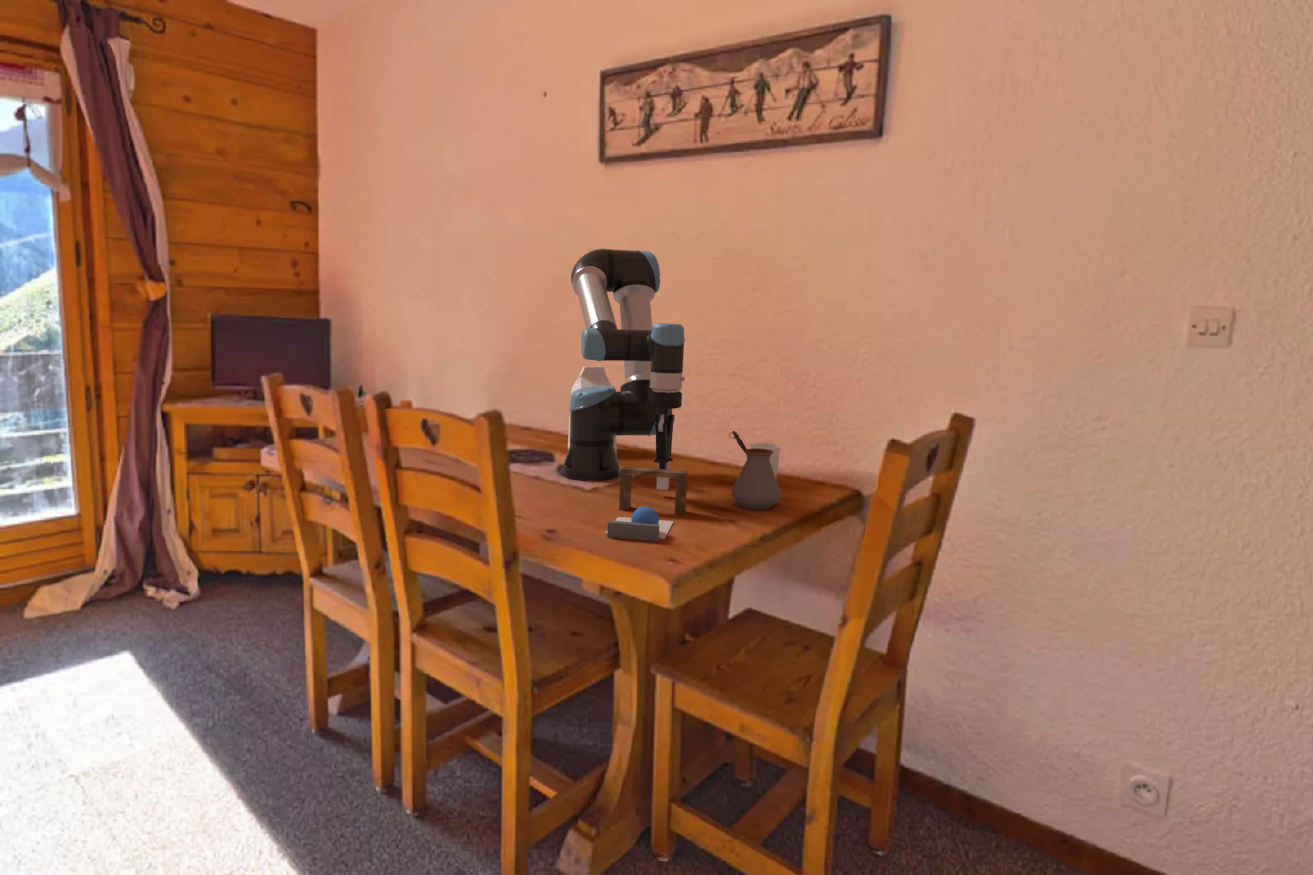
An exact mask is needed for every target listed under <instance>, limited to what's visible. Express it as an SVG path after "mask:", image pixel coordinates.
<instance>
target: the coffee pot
mask: <svg viewBox="0 0 1313 875" xmlns="http://www.w3.org/2000/svg"><path fill="white" fill-rule="evenodd" d="M731 434H732V435H733V437H731V436H730V435H731ZM728 437H729V438H730V439H735V440H736V443H737V444H738V446H739V447H740V448H741V449H742V451H743V452H744V453H745V455H746V461H745V463H744V464H743V467H742V468H741V471H740V473H739V475H738V477H737V478H736V481H735V483H734V485H733V487H732V489H731V496H732V498H733V499H734V501H736V502H737V503H738V505H739V506H740V507H742V508H746V509H751V510H768V509H771V508H772V507H773V506H774V505H777V503H778V502H779V501H780V499H781V497H782V493H781V489H780V487H779V484H778V481H777V477H776V478H775V475H774V472H773V470H772V467H771V464H770V461H769V459H770V456H771V454H773V451H772V450H767V449H757V448H753V449H750V448H747V447H746V445H745V442H743V440H742V438H740V435H739V434H738V432H736V431H735V430H732V432H729V434H728ZM770 507H771V508H770ZM767 508H768V509H767Z"/></svg>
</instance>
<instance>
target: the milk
mask: <svg viewBox="0 0 1313 875" xmlns="http://www.w3.org/2000/svg"><path fill="white" fill-rule="evenodd" d="M593 386H612V384H611V382H610V379H609V378H608V376H607V373H606V371H605V368H604V366H582V369H581V371H580V373H579V376H578V377H577V379H576V380H575V382H574V384H573V385H572V388H571V391H570V396H571V395H572V393H573V392H574V391H576V390H578V389H581V388H586V387H593ZM569 446H570V418H569V420H568V439H567V450H568V449H569ZM614 449H615V452H616V455H618V450H617V436H614Z"/></svg>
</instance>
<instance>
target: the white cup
mask: <svg viewBox="0 0 1313 875" xmlns="http://www.w3.org/2000/svg"><path fill="white" fill-rule="evenodd" d="M753 448H757V449H767V450H772V451H773V454H771V456H770V459H769V461H770V464H771V467H772V470H773V472H774V475H775V478H776V479H777V474H778V470H779V463H780V453H781V445H779V444H776V443H770V442H752V443H750V444H749V449H753Z"/></svg>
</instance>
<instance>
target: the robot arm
mask: <svg viewBox="0 0 1313 875" xmlns="http://www.w3.org/2000/svg"><path fill="white" fill-rule="evenodd" d="M570 274H571V275H570V282H571V288H572V289H573V291H574V293H575V294H576V295H577V296H578V300H579V305H580V308H581V309H580V310H581V312H582V316H583V321H584V324H585V328H584V329H583V331H582V332H581V337H580V348H581V356H582V358H583V359H585V360H586V361H596V362H607V361H608V362H609V361H610V362H614V361H615V362H616V361H618V362H619V361H620V362H621V361H622V362H623V366H624V367H623V369H624V370H623V371H624V382H622V384H621V385H620V386H619V387H620V390H619V391H617V389H616V387H615V386H614V385H611V386H593V387H586V388H581V389H578V390H576V391H574V392H573V393H572V395H571V394H570V404H569V408H568V409H569V419H570V446H569V449H568V448H567V453H566V456H565V458H564V462H563V464H562V475H563V476H564V477H565V476H566V477H565V478H569V479H571V480H577V479H579V481H588V480H598V481H607V480H613V479H616V478H618V477H619V478H620V469H621V466H620V463H619V460H618V457H617V454H616V452H615V449H614V436H616V437H617V436H648V437H650V436H655V459H654V460H653V462H654V463H656V469H668V470H670V462H673V460H674V458H673V457H672V444H673V433H674V432H673V431H674V422H675V414H673V409H680V408H681V407H682V402H683V393H682V392H681V391H680V390H682V388H683V382H685V381H686V378H685V376H683V372H684V371H683V370H684V355H685V354H684V352H685V351H684V350H685V348H684V347H685V342H686V341H685V340H686V338H685V327H684V325H683V324H681V323H670V322H669V323H665V322H664V323H662V322H661V323H657V322H656V323H654V324H653V319H652V309H651V308H652V307H651V306H652V305H651V301H652V300H654V299H655V297H656V294H657V293H658V292H659V290H660V287H661V278H660V276H661V271H660V264H659V261H658V258H657V257H656V255H655V254H654V253H652V252H651V251H643V250H640V249H637V250H628V249H626V250H625V249H607V248H598V249H592V250H590V251H589V252H587V253H585V254H584V255H582V256H581V257H580V258H579V259H578V260H577V261H576V263H575V264H574V265H573V268H572V271H571V273H570ZM609 292H610V293H612V294H613V300H614V301H615V302H616V303H618V304H619V314H620V315H619V316H620V328H621V329H618V325H617V323H616V319H615V315H614V312H613V308H612V305H611V302H610V299H609V294H608V293H609ZM669 486H670V478H663V477H656V490H666V491H667V490H669Z"/></svg>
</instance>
